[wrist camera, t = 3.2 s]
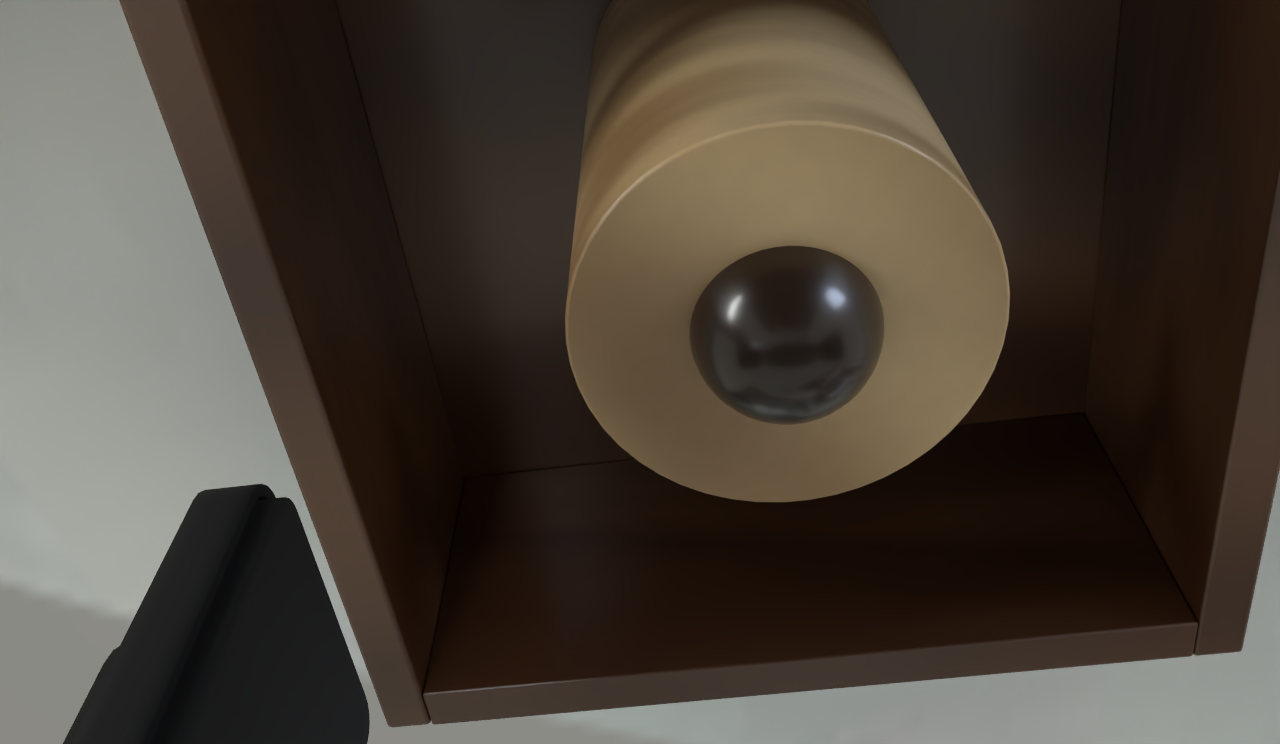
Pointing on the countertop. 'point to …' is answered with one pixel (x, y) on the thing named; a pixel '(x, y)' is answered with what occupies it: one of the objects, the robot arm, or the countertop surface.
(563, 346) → the chest
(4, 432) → the countertop surface
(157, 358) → the countertop surface
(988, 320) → the pepper mill
